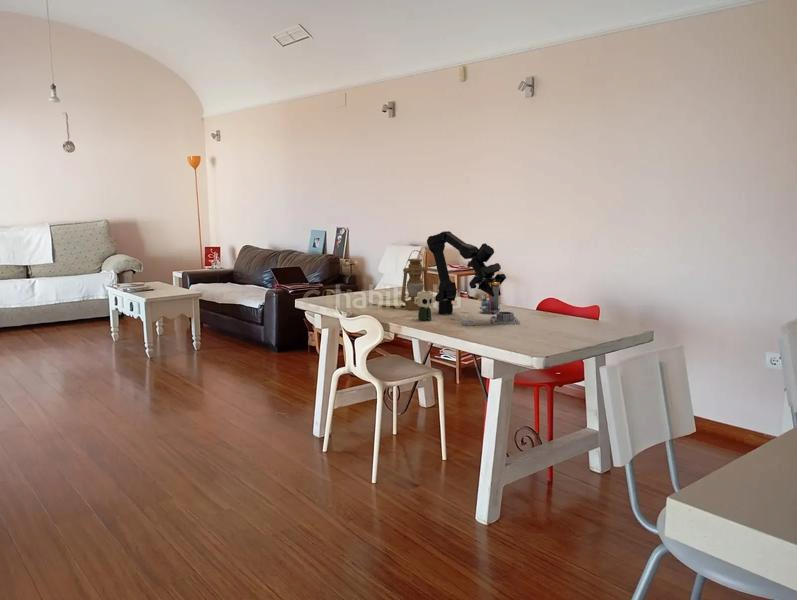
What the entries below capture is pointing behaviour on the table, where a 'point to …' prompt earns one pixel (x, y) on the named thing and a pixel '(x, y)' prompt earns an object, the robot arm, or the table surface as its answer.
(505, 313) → the silver bolted socket base
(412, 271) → the lantern
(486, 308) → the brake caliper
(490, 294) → the robot arm
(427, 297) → the big-eyed figurine
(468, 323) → the loose bracket
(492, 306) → the copper-capped metal post
